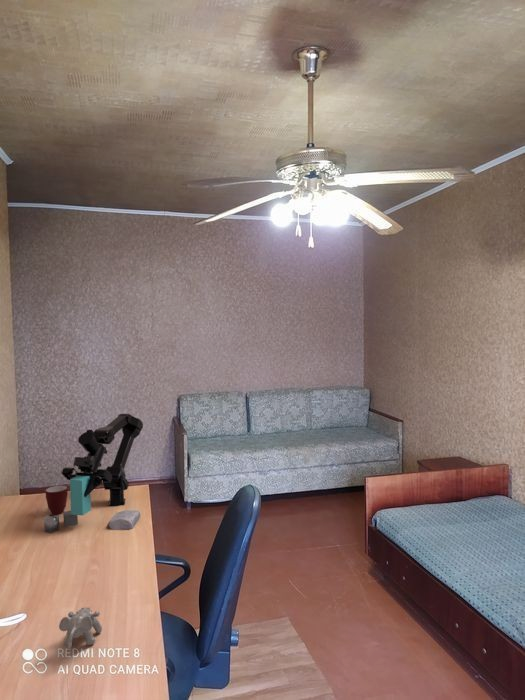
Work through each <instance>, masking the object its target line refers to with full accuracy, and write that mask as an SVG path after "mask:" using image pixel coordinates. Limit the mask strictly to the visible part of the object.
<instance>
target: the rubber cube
mask: <svg viewBox="0 0 525 700" xmlns="http://www.w3.org/2000/svg"><path fill="white" fill-rule="evenodd" d="M62 514H63V525H64V528H69V527H72V526H74V527H75V526H78V525H79V519H78V516H79V515H73V514H71V509H70V510H64V511H63V513H62Z"/></svg>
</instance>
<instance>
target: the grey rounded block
mask: <svg viewBox="0 0 525 700" xmlns="http://www.w3.org/2000/svg"><path fill="white" fill-rule="evenodd" d="M43 519H44V520H43V521H44V522H43V524H44V533H47V534H50V533H51V534H52V533H55V532H58V531H59V530H60V515H58V514H52V513H51V514H47V515H45V516H44V517H43Z"/></svg>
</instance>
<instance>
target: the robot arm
mask: <svg viewBox="0 0 525 700" xmlns="http://www.w3.org/2000/svg"><path fill="white" fill-rule="evenodd" d="M143 428H144V423H143V421H142V420H141V419H139V418H138V417H135V416H133V415H132V414H130V413H120V414H118V415H117V417H115V418H114V419H113V420H112V421H110V423H108V424H107V425H105V426H103V427H99V428H97V429H95V430H92V429H86V431H85V432H83V433H82V434H80V436H79V437H78V444H80V446H81V447H82V448H83V449H84V451H85V452H87V455H86V456H83V457H80V456H78V457H77V456H75V457H74V461H73V464H72V465H73V467H71V466H70V467H63V468H62V470H61V474H62V476H63V477H64V478H65V479H66V480H68V481H70V479H72V478H74V477H76V476H78V475H79V476H90V478H89V483H88V486H87V488H86V490H85V493H84V496H85V497H86V496H87V495H88V494H90V495H91V493H92V492H93V491H94V490H95V489H97V488H98V487H99V486H100V485H103V487H104V490H105V491H107V490H109V501H108V507H115V506H121V505H125V504H126V498H125V492H124V491H126V490H128V488H129V486H130V485H129V484H130V483H129V481H128V479H127V478H126V475H127V474H126V471H125V467H126V464H127V462H128V458H129V455H130V452H131V448H132V446H133V443H134V441H135V439H136V438H137V437H138V436H139V435H140V434H141V431H142V429H143ZM120 430H121V431H122V434H123V436H122V437H121V441H120V444H119V447H118V449H117V453H116V455H115V458H114V460H113V464H112V465H111V466H107V467H106V468H104V469H103V468H100V467H102V460H103V457H104V454H108V450H107V447H106V446H105V445H110V444H111V443H112V442H113V441H114V440H115V437H116V436H115V435H116V434H117V433H118V432H119V431H120ZM74 467H77V470H79V471H77V470H76V468H74Z"/></svg>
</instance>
